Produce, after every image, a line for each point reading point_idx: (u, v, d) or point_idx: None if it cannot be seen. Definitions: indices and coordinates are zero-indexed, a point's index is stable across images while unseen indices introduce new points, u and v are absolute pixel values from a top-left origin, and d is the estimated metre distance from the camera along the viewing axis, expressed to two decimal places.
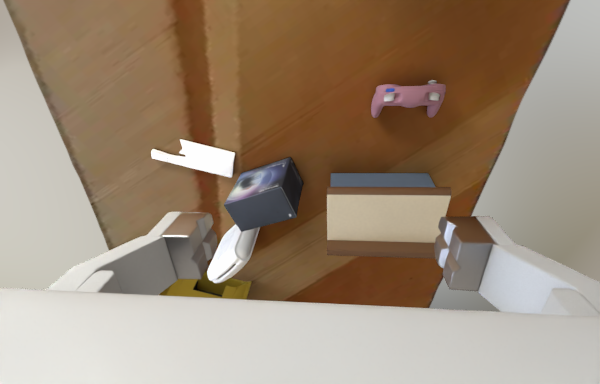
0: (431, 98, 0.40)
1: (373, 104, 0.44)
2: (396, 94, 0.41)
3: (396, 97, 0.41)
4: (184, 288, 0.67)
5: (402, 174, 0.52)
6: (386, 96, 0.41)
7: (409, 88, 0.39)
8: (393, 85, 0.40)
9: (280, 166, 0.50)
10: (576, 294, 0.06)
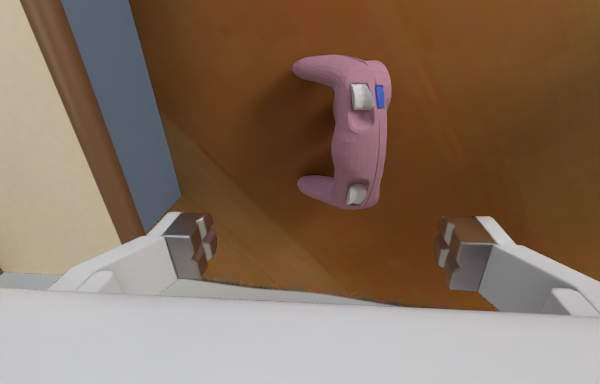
0: (353, 191, 0.18)
1: (331, 58, 0.17)
2: (365, 114, 0.16)
3: (359, 115, 0.16)
4: None
5: (165, 149, 0.24)
6: (364, 88, 0.15)
7: (382, 143, 0.16)
8: (387, 103, 0.16)
9: None
10: (576, 294, 0.06)
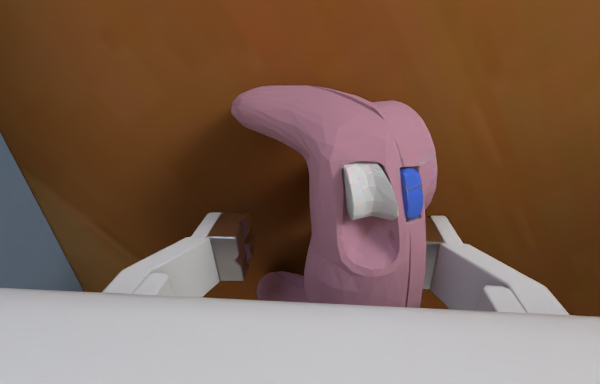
0: None
1: (302, 96, 0.08)
2: (376, 225, 0.07)
3: (362, 227, 0.07)
4: None
5: (41, 230, 0.14)
6: (375, 175, 0.06)
7: (414, 289, 0.07)
8: (426, 201, 0.07)
9: None
10: (506, 291, 0.06)
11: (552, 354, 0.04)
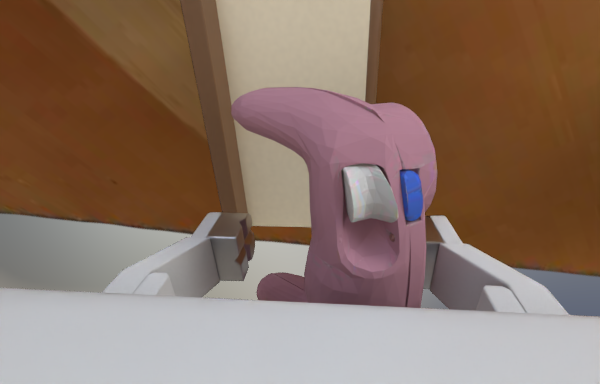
0: None
1: (302, 98, 0.08)
2: (376, 227, 0.07)
3: (362, 229, 0.07)
4: None
5: None
6: (375, 178, 0.06)
7: (414, 291, 0.07)
8: (426, 203, 0.07)
9: None
10: (506, 291, 0.06)
11: (552, 354, 0.04)
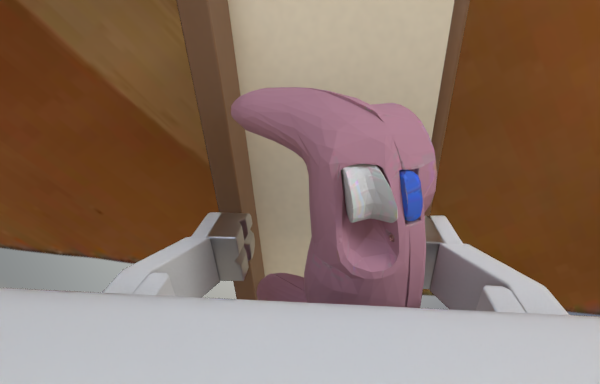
0: None
1: (302, 98, 0.08)
2: (376, 228, 0.07)
3: (362, 230, 0.07)
4: None
5: None
6: (374, 178, 0.06)
7: (414, 291, 0.07)
8: (426, 204, 0.07)
9: None
10: (505, 292, 0.06)
11: (552, 354, 0.04)
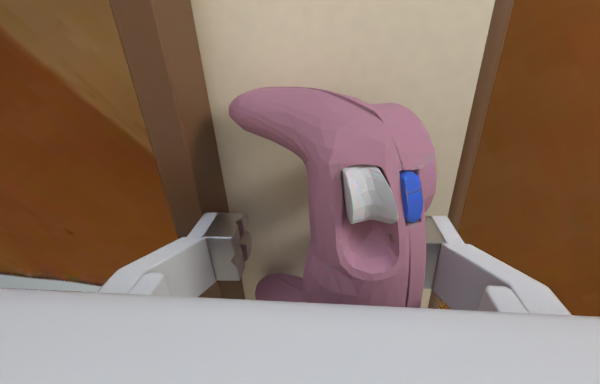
0: None
1: (301, 98, 0.08)
2: (376, 229, 0.07)
3: (362, 231, 0.07)
4: None
5: None
6: (374, 179, 0.06)
7: (414, 293, 0.07)
8: (426, 205, 0.07)
9: None
10: (508, 292, 0.06)
11: (552, 354, 0.04)
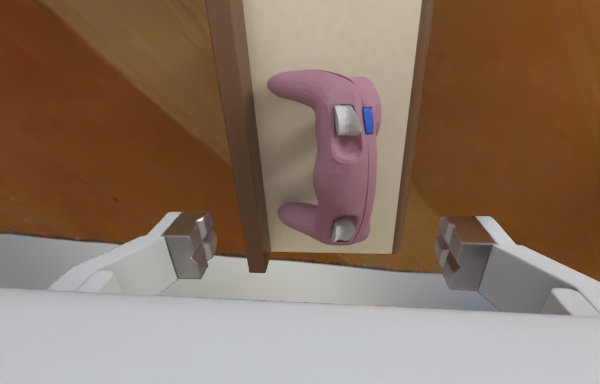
0: (339, 227, 0.15)
1: (311, 74, 0.14)
2: (351, 140, 0.14)
3: (344, 141, 0.14)
4: None
5: None
6: (349, 110, 0.13)
7: (371, 174, 0.14)
8: (377, 127, 0.14)
9: None
10: (576, 294, 0.06)
11: (552, 354, 0.04)
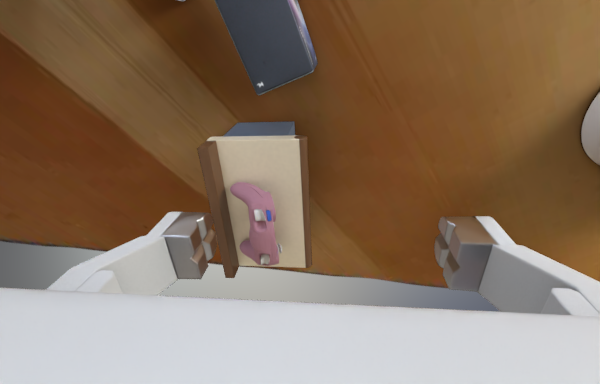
0: (262, 258, 0.33)
1: (247, 190, 0.32)
2: (263, 222, 0.31)
3: (260, 223, 0.31)
4: None
5: None
6: (260, 212, 0.31)
7: (272, 237, 0.31)
8: (274, 217, 0.31)
9: (314, 53, 0.33)
10: (576, 294, 0.06)
11: (552, 354, 0.04)
